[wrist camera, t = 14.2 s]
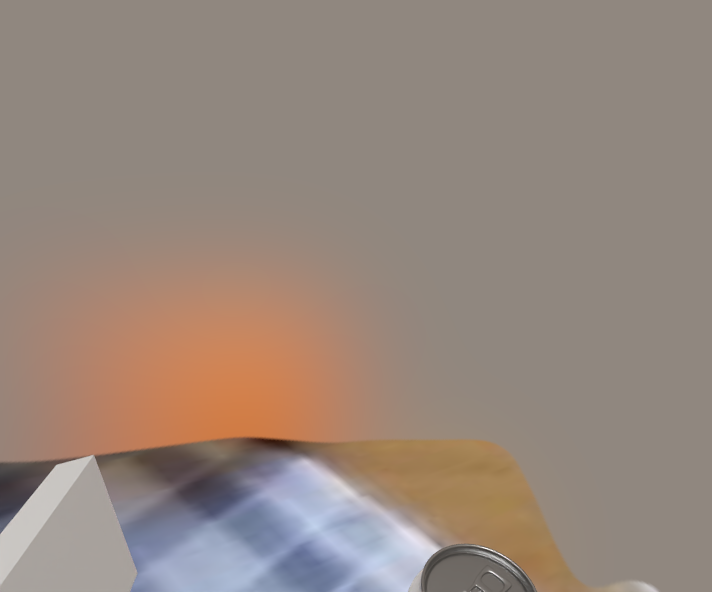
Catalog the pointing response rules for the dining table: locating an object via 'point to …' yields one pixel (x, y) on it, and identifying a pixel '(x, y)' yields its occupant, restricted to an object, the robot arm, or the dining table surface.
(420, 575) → the can
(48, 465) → the dining table surface
